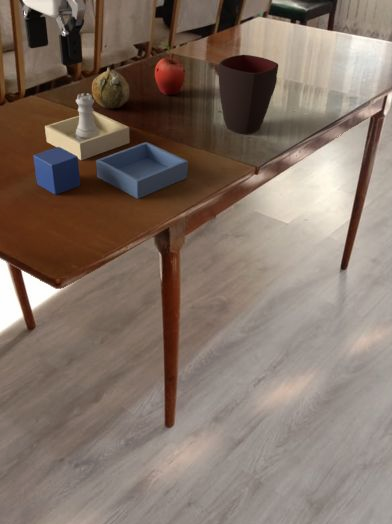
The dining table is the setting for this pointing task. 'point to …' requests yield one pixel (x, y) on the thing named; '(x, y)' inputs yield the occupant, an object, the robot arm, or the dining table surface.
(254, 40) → the dining table surface
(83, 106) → the rook chess piece
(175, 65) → the apple
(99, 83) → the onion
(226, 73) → the cup
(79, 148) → the ivory tray
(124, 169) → the blue tray
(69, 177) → the blue block
